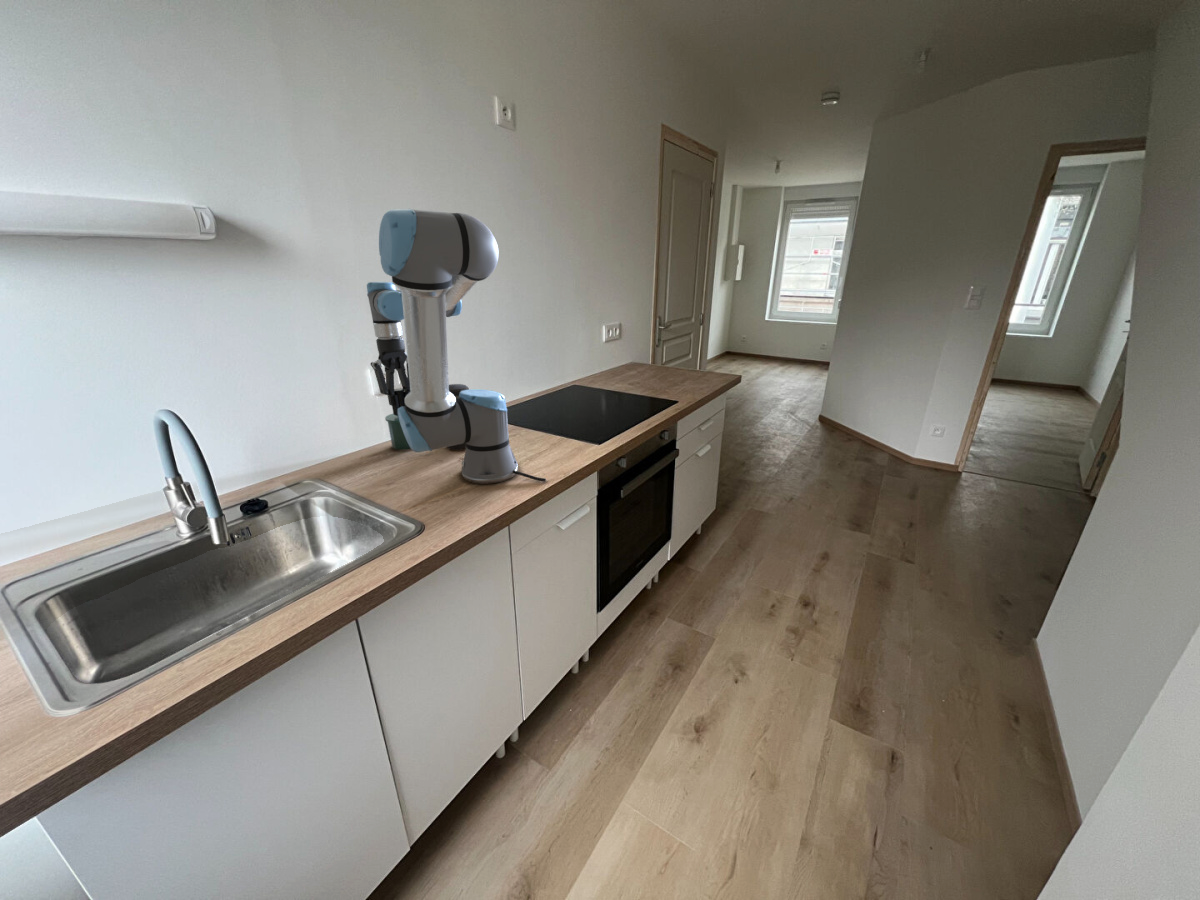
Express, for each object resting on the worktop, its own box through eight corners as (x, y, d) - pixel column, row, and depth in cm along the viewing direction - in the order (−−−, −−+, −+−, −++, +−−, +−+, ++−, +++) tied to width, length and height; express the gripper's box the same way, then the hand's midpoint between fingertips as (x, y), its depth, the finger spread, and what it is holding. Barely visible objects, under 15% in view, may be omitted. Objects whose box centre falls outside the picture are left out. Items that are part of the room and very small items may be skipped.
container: (467, 452, 141) (459, 389, 133) (441, 450, 142) (432, 387, 135) (479, 442, 148) (473, 382, 141) (454, 440, 150) (446, 381, 143)
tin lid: (427, 418, 144) (422, 388, 140) (397, 426, 136) (391, 395, 132) (409, 413, 149) (404, 384, 146) (379, 420, 142) (373, 390, 138)
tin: (428, 444, 147) (424, 416, 143) (402, 453, 140) (397, 424, 136) (413, 439, 152) (408, 412, 148) (386, 446, 145) (381, 418, 142)
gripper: (407, 333, 141) (418, 406, 150) (356, 339, 129) (371, 417, 138) (421, 335, 137) (432, 409, 146) (369, 341, 125) (384, 422, 134)
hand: (402, 413), depth 142 cm, fingers closed on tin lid, 3 cm apart
